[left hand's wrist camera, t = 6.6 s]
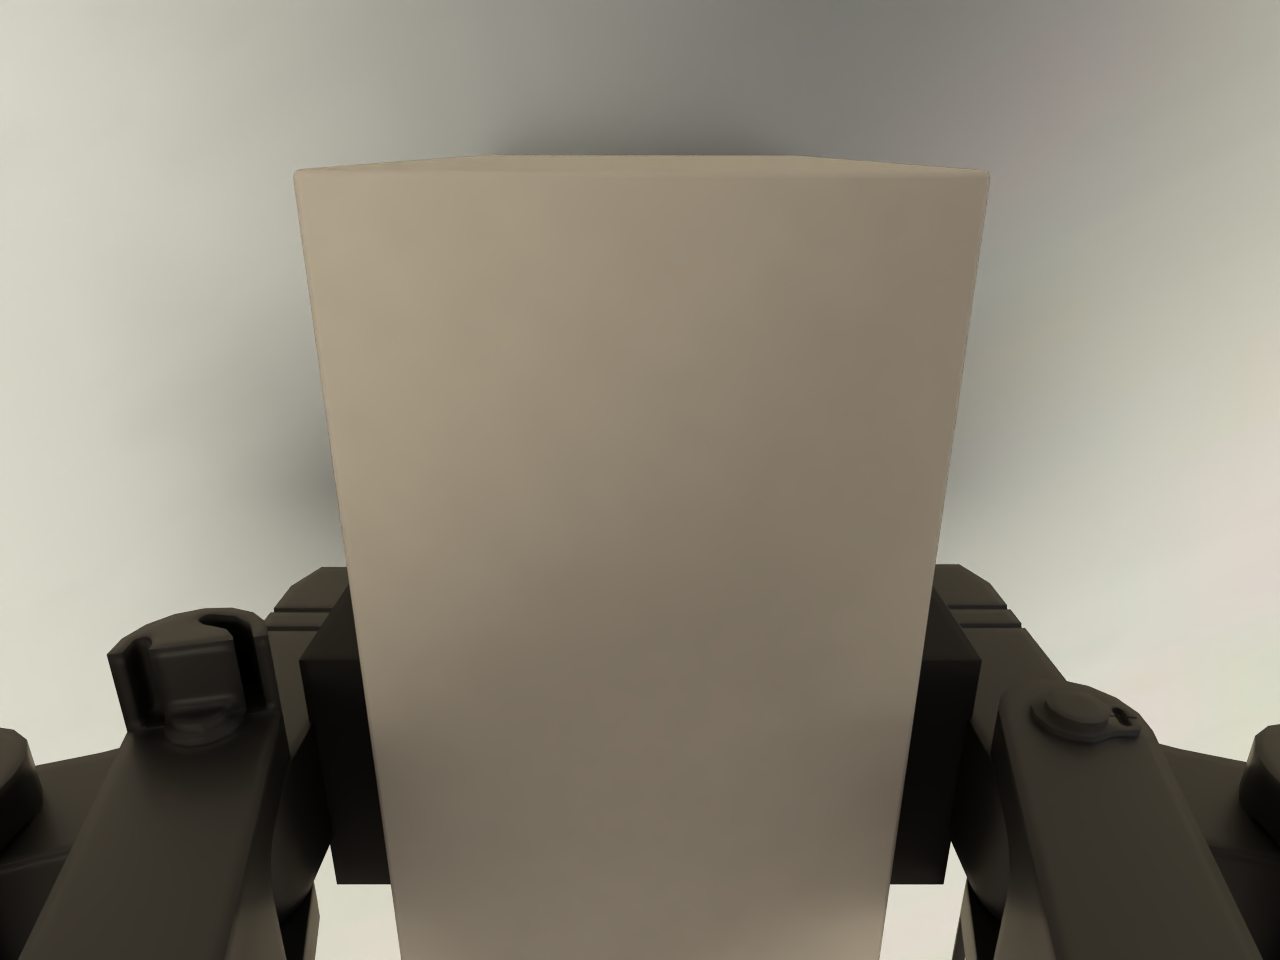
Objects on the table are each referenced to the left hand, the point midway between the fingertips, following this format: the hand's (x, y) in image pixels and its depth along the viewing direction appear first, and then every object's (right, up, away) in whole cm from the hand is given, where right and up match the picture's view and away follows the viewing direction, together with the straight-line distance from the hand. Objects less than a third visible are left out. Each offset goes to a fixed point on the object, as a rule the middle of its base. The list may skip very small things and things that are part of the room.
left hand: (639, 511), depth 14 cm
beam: (0, -18, +8) cm, 20 cm away
